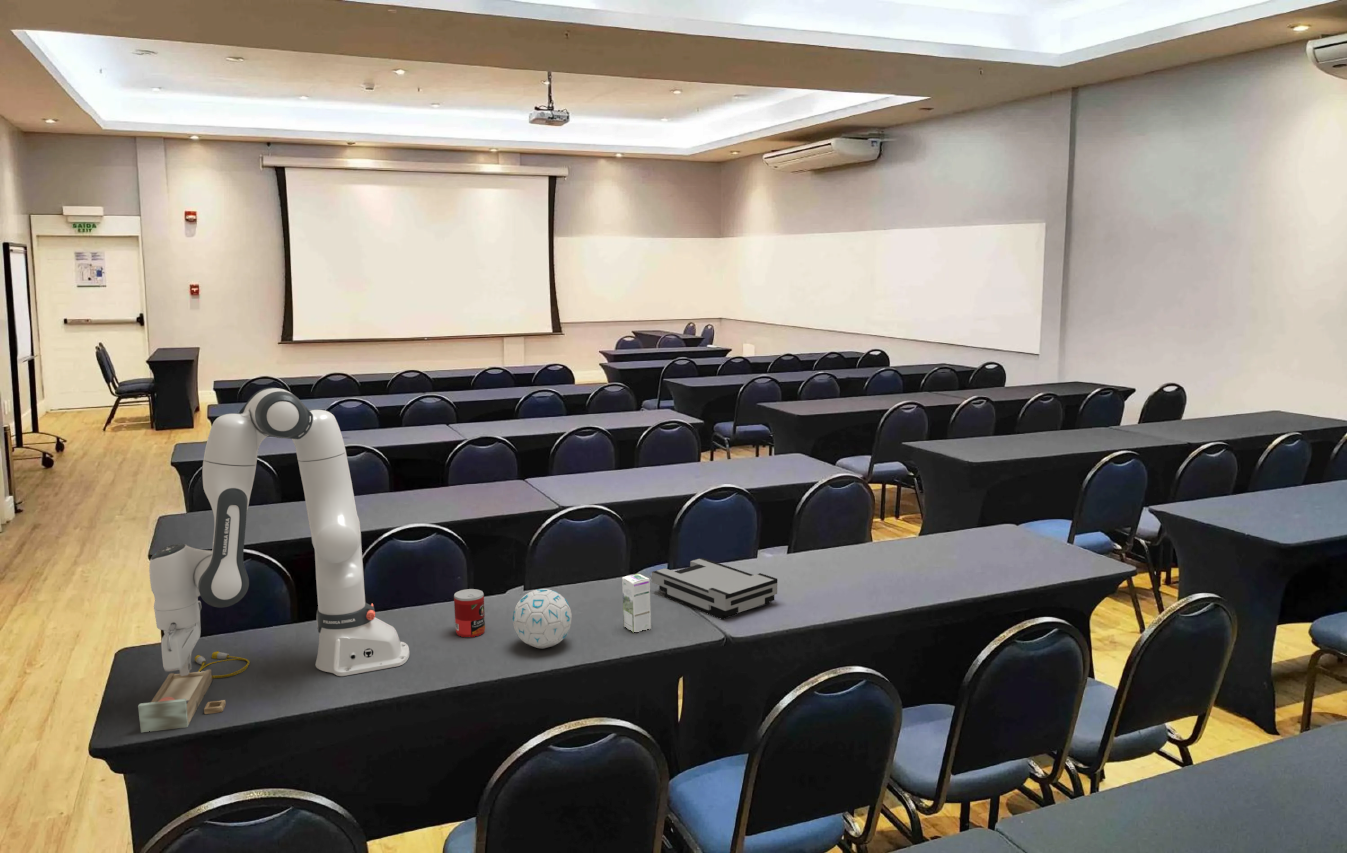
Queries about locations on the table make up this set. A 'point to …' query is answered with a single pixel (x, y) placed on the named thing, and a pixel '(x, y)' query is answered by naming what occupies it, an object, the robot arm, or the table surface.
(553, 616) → the puzzle ball
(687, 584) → the game console
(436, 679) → the table surface
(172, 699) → the ball
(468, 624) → the canned food
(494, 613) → the table surface
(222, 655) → the extension cord
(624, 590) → the syrup box
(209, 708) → the hollow square frame
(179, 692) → the tray
